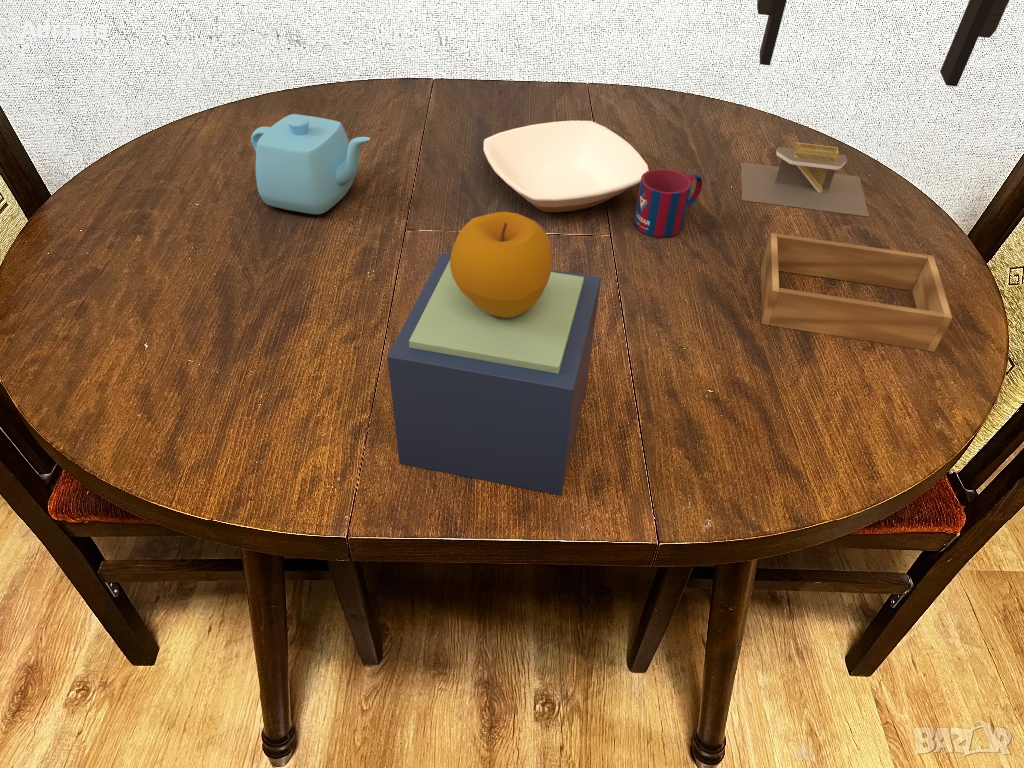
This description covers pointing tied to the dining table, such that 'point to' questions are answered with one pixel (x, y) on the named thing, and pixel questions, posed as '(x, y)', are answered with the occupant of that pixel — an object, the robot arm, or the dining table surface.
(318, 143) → the teapot
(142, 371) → the dining table surface
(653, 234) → the mug
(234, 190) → the dining table surface
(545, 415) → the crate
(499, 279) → the apple
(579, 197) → the bowl
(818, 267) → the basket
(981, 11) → the robot arm
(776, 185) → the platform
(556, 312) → the mat
